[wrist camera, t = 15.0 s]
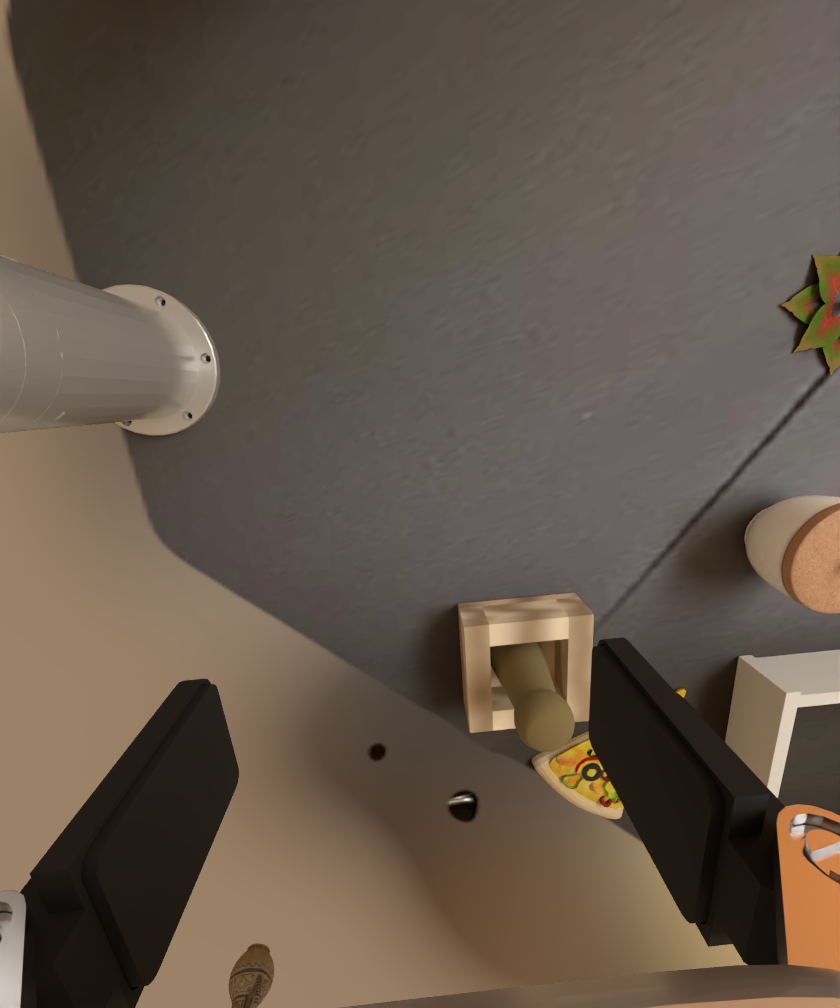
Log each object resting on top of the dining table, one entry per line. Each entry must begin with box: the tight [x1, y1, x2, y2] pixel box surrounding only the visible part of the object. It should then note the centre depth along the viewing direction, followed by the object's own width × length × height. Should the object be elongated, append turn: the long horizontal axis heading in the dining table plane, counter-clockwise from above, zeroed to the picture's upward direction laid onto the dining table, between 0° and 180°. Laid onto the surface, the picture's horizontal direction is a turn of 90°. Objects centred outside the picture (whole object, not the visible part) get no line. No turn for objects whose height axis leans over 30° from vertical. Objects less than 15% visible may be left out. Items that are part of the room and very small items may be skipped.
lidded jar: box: [744, 495, 840, 613], centre depth 38 cm, size 11×11×9 cm
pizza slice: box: [532, 689, 686, 819], centre depth 49 cm, size 16×21×3 cm
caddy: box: [458, 593, 594, 733], centre depth 43 cm, size 13×13×4 cm
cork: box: [490, 642, 574, 752], centre depth 39 cm, size 6×6×11 cm
